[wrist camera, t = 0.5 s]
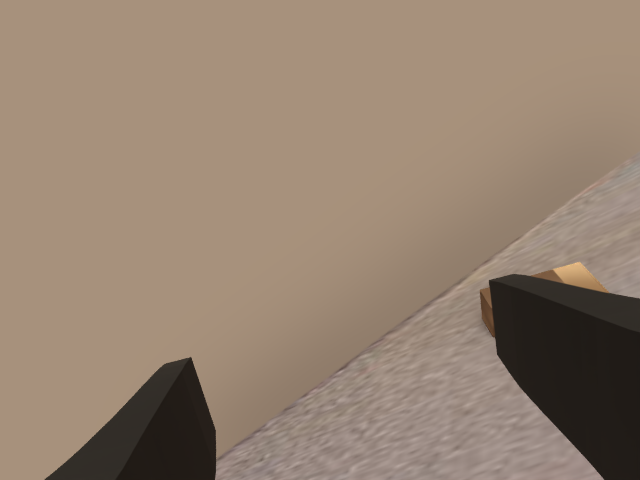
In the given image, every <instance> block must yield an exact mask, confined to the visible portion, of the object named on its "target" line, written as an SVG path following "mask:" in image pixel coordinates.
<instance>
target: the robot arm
mask: <svg viewBox="0 0 640 480" xmlns="http://www.w3.org/2000/svg"><path fill="white" fill-rule="evenodd" d="M489 286H490V295H491V304H492V313H493V321H494V330H495V339H496V348H497V355H498V356H499V358H500V359H501V361H502V362H503V364H504V365H505V367H506V368H507V370H508V371H509V373H510V374H511V375H512V377H513V378H514V380H515V381H516V382H517V384H518V385H519V387H520V388H521V389H522V390H523V391H524V392H525V393H526V394H527V396H528V397H529V398H530V399H531V400H532V401H533V402H534V403H535V404H536V405H537V406H538V408H539V409H540V410H541V411H542V412H543V413H544V414H545V415H546V416H547V417H548V418H549V419H550V420H551V422H552V423H553V424H554V425H555V426H556V427H557V428H558V429H559V430H560V431H561V432H562V433H563V434H564V435H565V436H566V438H567V439H568V440H569V441H570V442H571V443H572V444H573V445H574V446H575V447H576V448H577V449H578V450H579V451H580V452H581V454H582V455H583V456H584V457H585V458H586V459H587V460H588V461H589V462H590V463H591V465H592V466H593V467H594V468H595V469H596V470H597V472H598V473H599V474H600V475H601V476H602V477H603V479H604V480H640V299H639V298H633V297H628V296H622V295H616V294H611V293H606V292H601V291H597V290H592V289H587V288H583V287H578V286H574V285H569V284H565V283H560V282H556V281H551V280H547V279H542V278H537V277H532V276H526V275H518V274H511V275H508V276H504V277H500V278H496V279H492V280H489ZM215 474H216V430H215V427H214V424H213V421H212V418H211V415H210V412H209V409H208V406H207V403H206V400H205V397H204V394H203V391H202V388H201V385H200V382H199V379H198V376H197V373H196V370H195V368H194V364H193V361H192V358H191V357H190V358H186V359H182V360H178V361H174V362H170V363H166V364H164V365H163V366H162V367H161V368H159V369H158V370H157V371H156V372H155V373H154V374H153V376H152V377H151V378H150V379H149V380H148V381H147V382H146V383H145V384H144V385H143V386H142V387H141V388H140V389H139V390H138V392H137V393H136V394H135V395H134V396H133V397H132V398H131V399H130V400H129V401H128V402H127V403H126V404H125V405H124V406H123V407H122V408H121V409H120V410H119V412H118V413H117V414H116V415H115V416H114V417H113V418H112V419H111V420H110V421H109V422H108V423H107V424H106V425H105V426H103V427H102V429H100V430H99V431H98V432H97V433H96V435H94V436H93V437H92V438H91V439H90V440H89V441H88V442H87V443H86V444H85V445H84V446H83V447H82V448H81V449H80V450H79V451H78V452H76V453H75V454H74V455H73V456H72V457H71V458H70V459H69V460H68V461H66V462H65V463H64V464H63V465H62V466H61V467H59V468H58V469H57V470H56V471H55V472H53V473H52V474H51V475H50V476H48V477H47V478H46V479H45V480H215Z"/></svg>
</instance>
